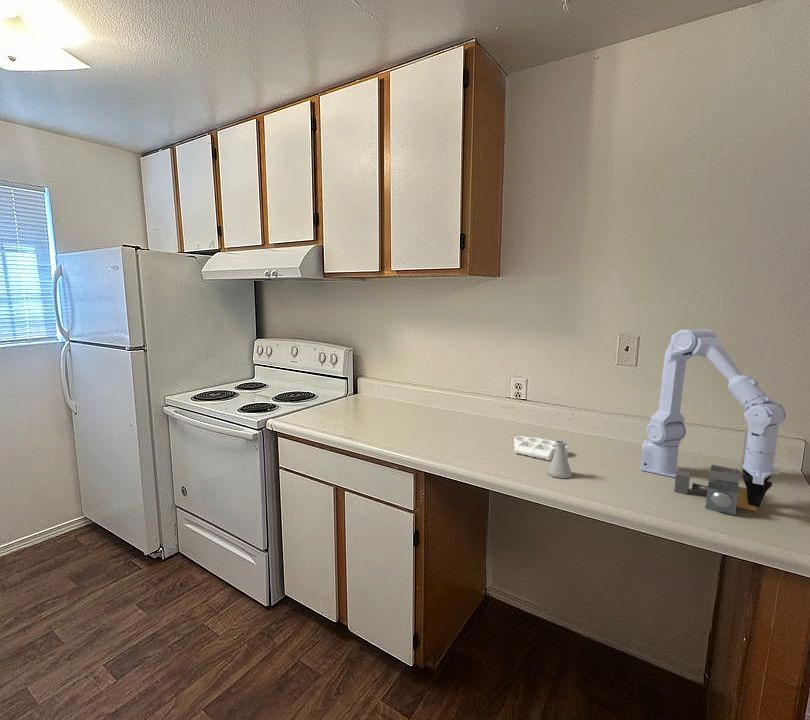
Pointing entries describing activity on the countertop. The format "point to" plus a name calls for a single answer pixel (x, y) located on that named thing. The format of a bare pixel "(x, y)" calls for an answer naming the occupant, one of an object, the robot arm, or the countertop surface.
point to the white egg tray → (535, 447)
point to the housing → (722, 489)
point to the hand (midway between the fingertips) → (753, 502)
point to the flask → (560, 462)
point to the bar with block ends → (683, 488)
